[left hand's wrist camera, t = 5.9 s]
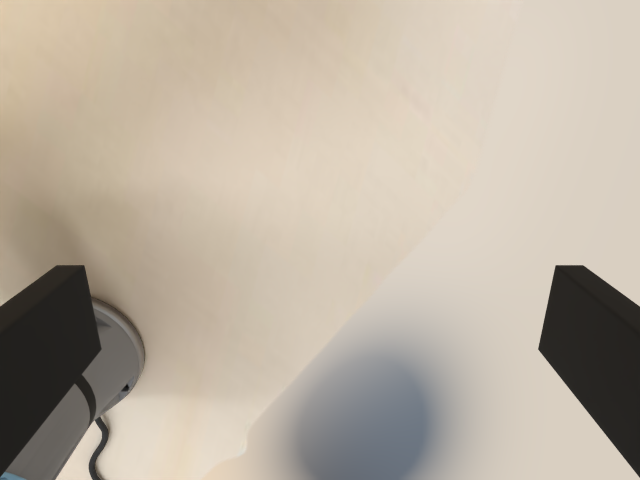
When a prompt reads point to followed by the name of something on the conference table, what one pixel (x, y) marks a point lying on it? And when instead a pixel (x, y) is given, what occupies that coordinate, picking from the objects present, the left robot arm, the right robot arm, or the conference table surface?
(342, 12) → the conference table surface
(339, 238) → the conference table surface
